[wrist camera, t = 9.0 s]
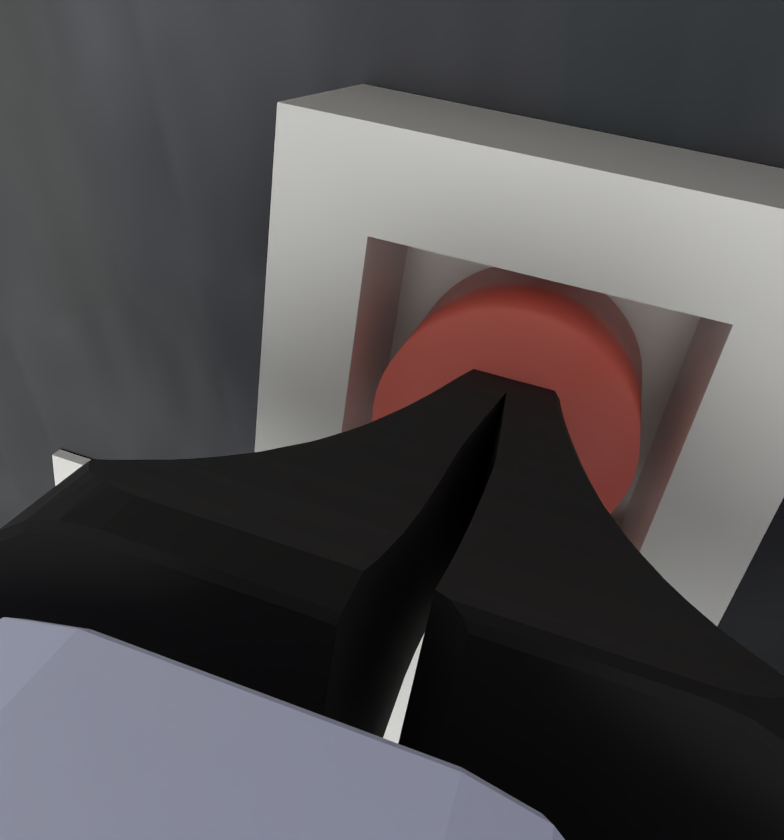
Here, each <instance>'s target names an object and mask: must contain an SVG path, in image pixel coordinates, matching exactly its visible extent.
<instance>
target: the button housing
mask: <svg viewBox="0 0 784 840" xmlns="http://www.w3.org/2000/svg"><path fill="white" fill-rule="evenodd" d="M490 267H497V268H501V269H505V270H509V271H513V272H517V273H522V274H526V275H530V276H534V277H538V278H542V279H546V280H550V281H555V282H559V283H563V284H567V285H571V286H575V287H579V288H583V289H588V290H592V291H596V292H600V293H604V294H606V295H607V296H608V297H609V298H610V299H611V300H612V301H613V302H614V303H615V304H616V305H617V306H618V307H619V309H620V310H621V312H622V313H623V314H624V316H625V317H626V319H627V320H628V322H629V324H630V326H631V328H632V330H633V332H634V334H635V337H636V340H637V343H638V346H639V349H640V355H641V360H642V399H641V430H640V451H639V459H638V465H637V468H636V472H635V475H634V479H633V481H632V483H631V485H630V487H629V489H628V491H627V493H626V495H625V496H624V498H623V499H622V501H621V502H620V504H619V505H618V506H617V507H616V509H615V510H614V511H613V512H612V513H611V514H610V515H611V516H612V518H613V519H614V520H615V522H616V523H617V524H618V526H619V527H620V529H621V530H622V531H623V533H624V534H625V535H626V537H627V538H628V539H629V540H630V541H631V543H632V544H633V545H634V546H635V547H636V549H637V550H638V551H639V552H640V553H641V554H642V555H643V556H644V557H645V558H646V560H647V561H648V562H649V563H650V564H651V565H652V566H653V567H654V568H655V569H656V570H657V571H658V573H659V574H660V575H661V576H662V577H663V578H664V579H665V580H666V581H667V582H668V583H669V584H670V585H671V586H672V587H673V588H674V589H675V590H676V591H678V592H679V593H680V594H681V595H682V596H683V597H684V598H685V599H686V600H687V601H688V602H689V603H690V604H692V605H693V606H694V607H695V608H696V609H697V610H699V611H700V612H701V613H702V614H703V615H704V616H705V617H707V618H708V619H709V620H710V621H711V622H712V623H714V624H715V625H716V626H718V624H719V622H720V620H721V618H722V616H723V614H724V612H725V610H726V608H727V607H728V605H729V603H730V601H731V599H732V597H733V595H734V593H735V591H736V589H737V587H738V585H739V583H740V581H741V579H742V577H743V575H744V573H745V572H746V570H747V568H748V566H749V564H750V562H751V560H752V558H753V556H754V554H755V552H756V550H757V548H758V546H759V544H760V542H761V540H762V538H763V537H764V535H765V533H766V531H767V529H768V527H769V525H770V523H771V521H772V519H773V517H774V515H775V513H776V511H777V509H778V507H779V505H780V503H781V501H782V500H783V498H784V169H782V168H777V167H772V166H767V165H762V164H757V163H752V162H747V161H742V160H738V159H733V158H728V157H723V156H718V155H713V154H708V153H703V152H698V151H693V150H688V149H683V148H678V147H673V146H668V145H663V144H658V143H653V142H648V141H643V140H639V139H634V138H629V137H624V136H619V135H614V134H609V133H604V132H599V131H594V130H589V129H584V128H579V127H574V126H569V125H564V124H559V123H554V122H549V121H544V120H539V119H535V118H530V117H525V116H520V115H515V114H510V113H505V112H500V111H495V110H490V109H485V108H480V107H475V106H470V105H465V104H460V103H455V102H450V101H445V100H440V99H436V98H431V97H426V96H421V95H416V94H411V93H406V92H401V91H396V90H391V89H386V88H381V87H376V86H371V85H366V84H360V85H355V86H350V87H346V88H341V89H336V90H332V91H327V92H322V93H318V94H313V95H308V96H303V97H299V98H294V99H289V100H285V101H280V102H277V116H276V131H275V147H274V162H273V177H272V193H271V208H270V224H269V239H268V254H267V270H266V285H265V300H264V316H263V331H262V346H261V362H260V377H259V392H258V408H257V423H256V439H255V452H261V451H266V450H271V449H276V448H281V447H286V446H291V445H296V444H301V443H306V442H311V441H315V440H318V439H322V438H326V437H329V436H332V435H336V434H339V433H342V432H345V431H349V430H351V429H354V428H357V427H360V426H363V425H365V424H368V423H371V422H372V412H373V403H374V399H375V394H376V390H377V387H378V385H379V382H380V380H381V377H382V375H383V373H384V372H385V370H386V368H387V367H388V365H389V363H390V362H391V360H392V359H393V358H394V357H395V355H396V354H397V353H398V351H399V350H400V349H401V348H402V346H403V345H404V344H405V342H406V341H407V340H408V339H409V337H410V336H411V335H412V333H413V332H414V331H415V329H416V328H417V327H418V326H419V324H420V323H421V322H422V320H423V319H424V318H425V317H426V315H427V314H428V313H429V311H430V310H431V309H432V308H433V306H434V305H435V304H436V303H437V301H438V300H439V299H440V298H441V297H442V296H443V295H444V294H445V293H446V292H447V291H448V290H449V289H450V288H451V287H453V286H454V285H456V284H457V283H458V282H460V281H461V280H463V279H465V278H467V277H468V276H470V275H472V274H474V273H476V272H479V271H482V270H485V269H487V268H490Z"/></svg>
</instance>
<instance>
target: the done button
mask: <svg viewBox="0 0 784 840" xmlns="http://www.w3.org/2000/svg"><path fill="white" fill-rule="evenodd" d="M472 369H476V370H479V371H483V372H487V373H491V374H494V375H498V376H502V377H505V378H509V379H513V380H517V381H520V382H524V383H528V384H532V385H535V386H539V387H543V388H547V389H551V390H554V391H555V392H556V394H557V396H558V397H559V399H560V405H561V409H562V413H563V417H564V420H565V423H566V427H567V430H568V433H569V435H570V438H571V441H572V443H573V445H574V448H575V450H576V452H577V455H578V457H579V459H580V462H581V464H582V466H583V468H584V470H585V472H586V474H587V476H588V478H589V480H590V482H591V484H592V486H593V488H594V489H595V491H596V493H597V495H598V497H599V498H600V500H601V502H602V503H603V505H604V507H605V508H606V509H607V511H608V512H609V513H610V514H611V513H612V512H613V511H614V510H615V509H616V507H617V506H618V505H619V504H620V502H621V501H622V499H623V498H624V496H625V495H626V493H627V491H628V489H629V487H630V485H631V483H632V481H633V479H634V475H635V472H636V468H637V465H638V459H639V451H640V430H641V399H642V360H641V355H640V349H639V346H638V343H637V340H636V337H635V334H634V332H633V330H632V328H631V326H630V324H629V322H628V320H627V319H626V317H625V316H624V314H623V313H622V312H621V310H620V309H619V307H618V306H617V305H616V304H615V303H614V302H613V301H612V300H611V299H610V298H609V297H608V296H607V295H606V294H604V293H600V292H596V291H592V290H588V289H583V288H579V287H575V286H571V285H567V284H563V283H559V282H555V281H550V280H546V279H542V278H538V277H534V276H530V275H526V274H522V273H517V272H513V271H509V270H505V269H501V268H497V267H490V268H487V269H485V270H482V271H479V272H476V273H474V274H472V275H470V276H468V277H467V278H465V279H463V280H461V281H460V282H458V283H457V284H456V285H454V286H453V287H451V288H450V289H449V290H448V291H447V292H446V293H445V294H444V295H443V296H442V297H441V298H440V299H439V300H438V301H437V303H436V304H435V305H434V306H433V308H432V309H431V310H430V311H429V313H428V314H427V315H426V317H425V318H424V319H423V320H422V322H421V323H420V324H419V326H418V327H417V328H416V329H415V331H414V332H413V333H412V335H411V336H410V337H409V339H408V340H407V341H406V342H405V344H404V345H403V346H402V348H401V349H400V350H399V351H398V353H397V354H396V355H395V357H394V358H393V359H392V360H391V362H390V363H389V365H388V367H387V368H386V370H385V372H384V373H383V375H382V377H381V380H380V382H379V385H378V387H377V390H376V394H375V399H374V403H373V412H372V422H373V421H375V420H377V419H380V418H382V417H384V416H386V415H389V414H391V413H393V412H395V411H397V410H400V409H402V408H404V407H406V406H408V405H410V404H412V403H414V402H416V401H418V400H419V399H421V398H423V397H425V396H427V395H429V394H431V393H432V392H434V391H436V390H438V389H439V388H441V387H443V386H444V385H446V384H448V383H449V382H451V381H453V380H454V379H456V378H458V377H459V376H461V375H463V374H465V373H467V372H469V371H471V370H472Z"/></svg>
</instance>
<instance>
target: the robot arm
mask: <svg viewBox="0 0 784 840" xmlns="http://www.w3.org/2000/svg"><path fill="white" fill-rule="evenodd" d="M423 635H424V638H423V642H422V646H421V650H420V654H419V659H418V663H417V667H416V671H415V675H414V680H413V684H412V688H411V692H410V696H409V701H408V705H407V709H406V713H405V717H404V722H403V726H402V730H401V734H400V738H399V743H395V742H392V741H390V740H387V739H384V738H383V737H384V734H385V731H386V728H387V725H388V722H389V720H390V717H391V714H392V711H393V708H394V706H395V703H396V700H397V697H398V694H399V691H400V689H401V686H402V683H403V680H404V677H405V675H406V673H407V670H408V668H409V666H410V663H411V661H412V658H413V656H414V654H415V651H416V649H417V647H418V645H419V643H420V641H421V639H422V637H423ZM0 840H784V676H783V675H781V674H780V673H779V672H777V671H776V670H775V669H773V668H772V667H770V666H769V665H768V664H766V663H765V662H764V661H762V660H761V659H759V658H758V657H757V656H755V655H754V654H753V653H751V652H750V651H748V650H747V649H746V648H744V647H743V646H742V645H740V644H739V643H737V642H736V641H735V640H733V639H732V638H731V637H729V636H728V635H727V634H725V633H724V632H723V631H722V630H721V629H719V628H718V627H717V626H716V625H715V624H714V623H712V622H711V621H710V620H709V619H708V618H707V617H705V616H704V615H703V614H702V613H701V612H700V611H699V610H697V609H696V608H695V607H694V606H693V605H692V604H690V603H689V602H688V601H687V600H686V599H685V598H684V597H683V596H682V595H681V594H680V593H679V592H678V591H676V590H675V589H674V588H673V587H672V586H671V585H670V584H669V583H668V582H667V581H666V580H665V579H664V578H663V577H662V576H661V575H660V574H659V573H658V571H657V570H656V569H655V568H654V567H653V566H652V565H651V564H650V563H649V562H648V561H647V560H646V558H645V557H644V556H643V555H642V554H641V553H640V552H639V551H638V550H637V549H636V547H635V546H634V545H633V544H632V543H631V541H630V540H629V539H628V538H627V537H626V535H625V534H624V533H623V531H622V530H621V529H620V527H619V526H618V524H617V523H616V522H615V520H614V519H613V518H612V516H611V515H610V513H609V512H608V511H607V509H606V508H605V507H604V505H603V503H602V502H601V500H600V498H599V497H598V495H597V493H596V491H595V489H594V488H593V486H592V484H591V482H590V480H589V478H588V476H587V474H586V472H585V470H584V468H583V466H582V464H581V462H580V459H579V457H578V455H577V452H576V450H575V448H574V445H573V443H572V441H571V438H570V435H569V433H568V430H567V427H566V423H565V420H564V417H563V413H562V409H561V405H560V399H559V397H558V396H557V394H556V392H555V391H554V390H551V389H547V388H543V387H539V386H535V385H532V384H528V383H524V382H520V381H517V380H513V379H509V378H505V377H502V376H498V375H494V374H491V373H487V372H483V371H479V370H476V369H472V370H471V371H469V372H467V373H465V374H463V375H461V376H459V377H458V378H456V379H454V380H453V381H451V382H449V383H448V384H446V385H444V386H443V387H441V388H439V389H438V390H436V391H434V392H432V393H431V394H429V395H427V396H425V397H423V398H421V399H419V400H418V401H416V402H414V403H412V404H410V405H408V406H406V407H404V408H402V409H400V410H397V411H395V412H393V413H391V414H389V415H386V416H384V417H382V418H380V419H377V420H375V421H373V422H371V423H368V424H365V425H363V426H360V427H357V428H354V429H351V430H349V431H345V432H342V433H339V434H336V435H332V436H329V437H326V438H322V439H318V440H315V441H311V442H306V443H301V444H296V445H291V446H286V447H281V448H276V449H271V450H266V451H261V452H254V453H247V454H239V455H230V456H221V457H209V458H197V459H178V460H96V459H91V460H90V461H88V462H87V463H85V464H84V465H83V466H81V467H80V468H78V469H77V470H76V471H75V472H73V473H72V474H71V475H69V476H68V477H67V478H65V479H64V480H63V481H62V482H60V483H59V484H58V485H56V486H55V487H54V488H53V489H51V490H50V491H49V492H47V493H46V494H45V495H44V496H42V497H41V498H40V499H38V500H37V501H36V502H35V503H33V504H32V505H31V506H29V507H28V508H27V509H26V510H24V511H23V512H22V513H20V514H19V515H18V516H17V517H15V518H14V519H13V520H11V521H10V522H9V523H7V524H6V525H5V526H4V527H2V528H1V529H0Z"/></svg>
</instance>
